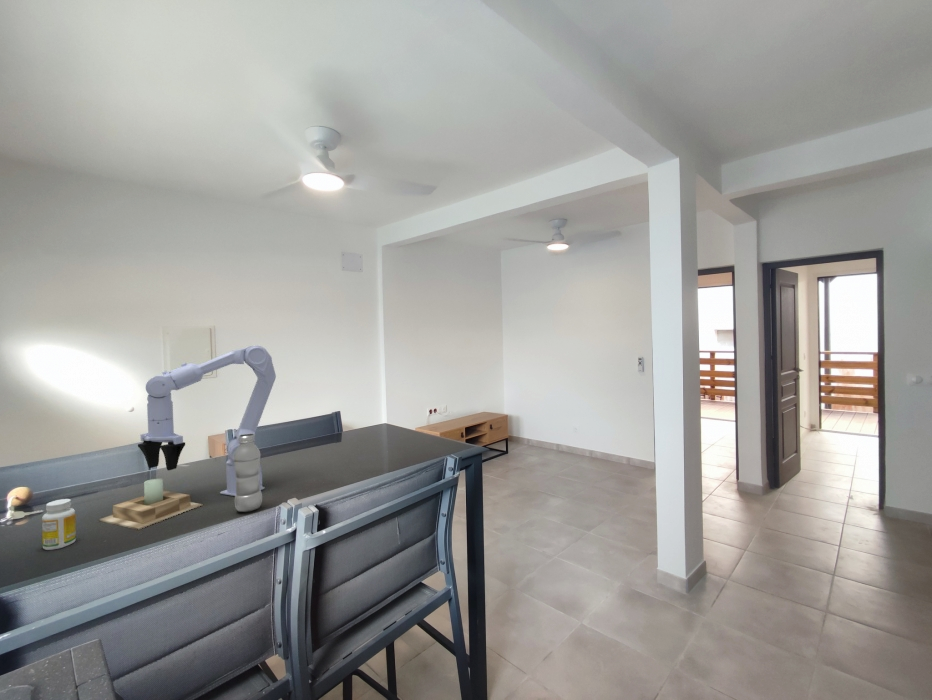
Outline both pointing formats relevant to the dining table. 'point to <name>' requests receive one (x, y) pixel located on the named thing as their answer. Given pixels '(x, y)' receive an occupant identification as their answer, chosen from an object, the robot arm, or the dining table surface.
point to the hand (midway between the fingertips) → (162, 468)
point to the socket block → (149, 510)
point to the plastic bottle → (247, 474)
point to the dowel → (153, 491)
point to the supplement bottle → (58, 525)
